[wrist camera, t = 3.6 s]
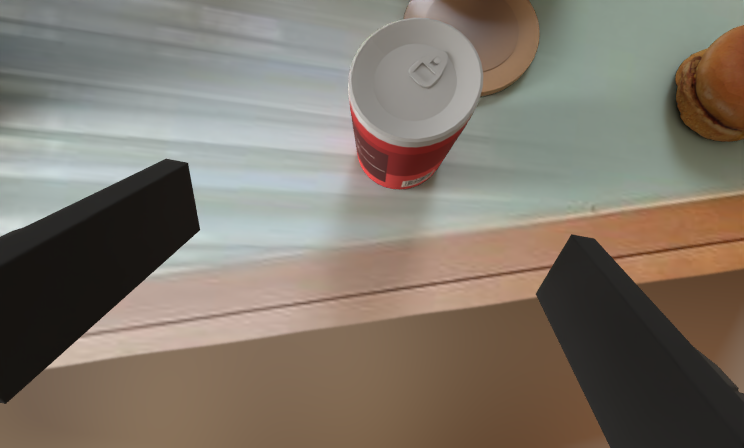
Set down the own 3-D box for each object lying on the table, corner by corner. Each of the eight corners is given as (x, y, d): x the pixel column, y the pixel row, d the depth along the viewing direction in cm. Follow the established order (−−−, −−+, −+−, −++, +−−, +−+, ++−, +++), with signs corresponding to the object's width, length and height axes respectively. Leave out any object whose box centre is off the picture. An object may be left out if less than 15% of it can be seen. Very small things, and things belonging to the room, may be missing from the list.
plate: (388, 81, 29) (389, 76, 28) (416, -34, 31) (418, -43, 30) (523, 110, 29) (528, 105, 28) (544, -10, 30) (549, -18, 29)
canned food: (456, 132, 28) (507, 48, 17) (417, 207, 27) (446, 167, 16) (383, 97, 29) (388, -6, 18) (342, 169, 28) (322, 106, 17)
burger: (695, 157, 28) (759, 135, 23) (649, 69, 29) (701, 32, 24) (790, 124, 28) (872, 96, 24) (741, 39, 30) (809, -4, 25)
